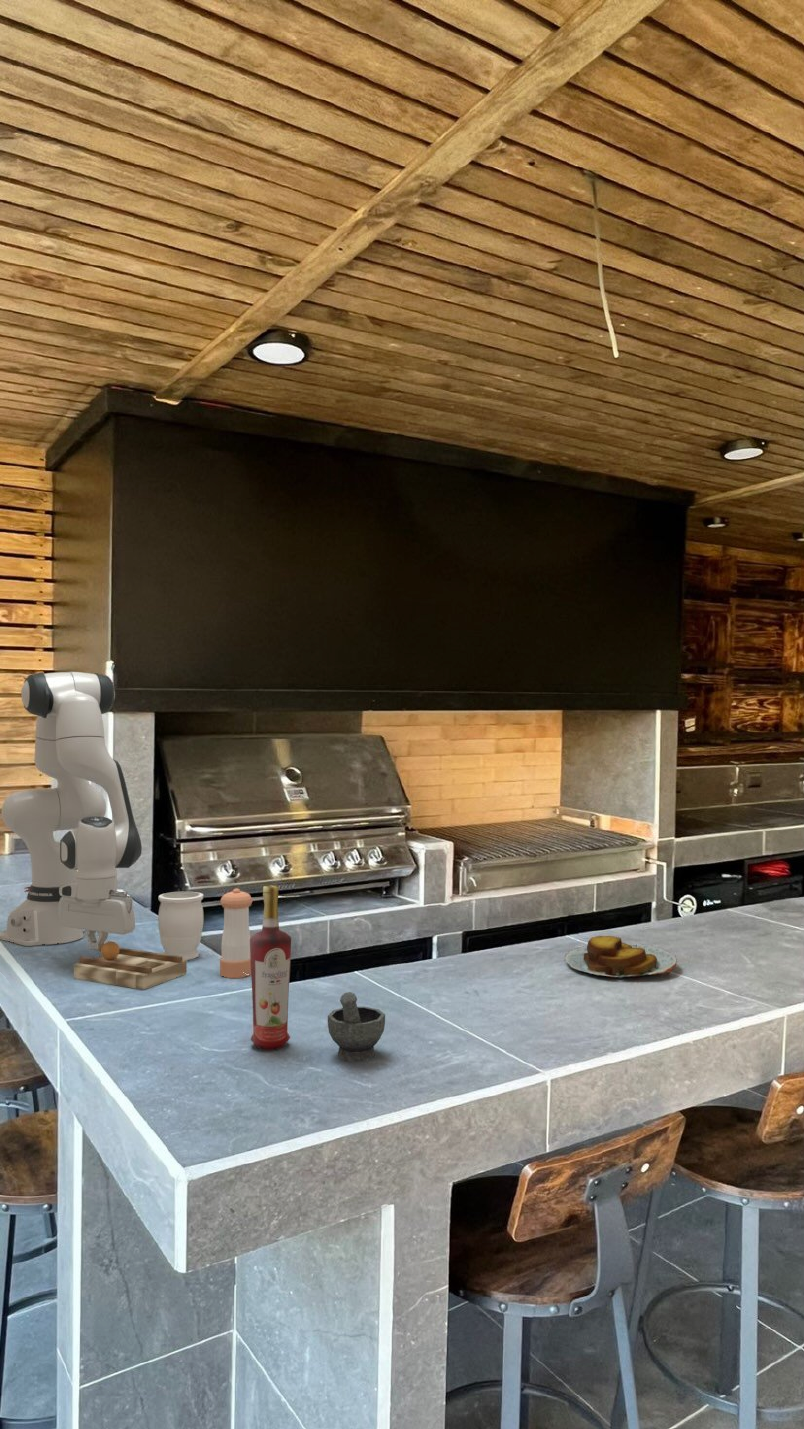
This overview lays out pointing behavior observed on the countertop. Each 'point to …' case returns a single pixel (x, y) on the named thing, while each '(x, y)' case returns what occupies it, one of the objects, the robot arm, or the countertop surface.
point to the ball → (110, 950)
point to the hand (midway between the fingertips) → (96, 949)
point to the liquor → (270, 977)
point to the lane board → (131, 969)
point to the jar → (181, 923)
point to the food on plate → (620, 958)
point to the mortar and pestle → (355, 1029)
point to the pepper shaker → (236, 935)
